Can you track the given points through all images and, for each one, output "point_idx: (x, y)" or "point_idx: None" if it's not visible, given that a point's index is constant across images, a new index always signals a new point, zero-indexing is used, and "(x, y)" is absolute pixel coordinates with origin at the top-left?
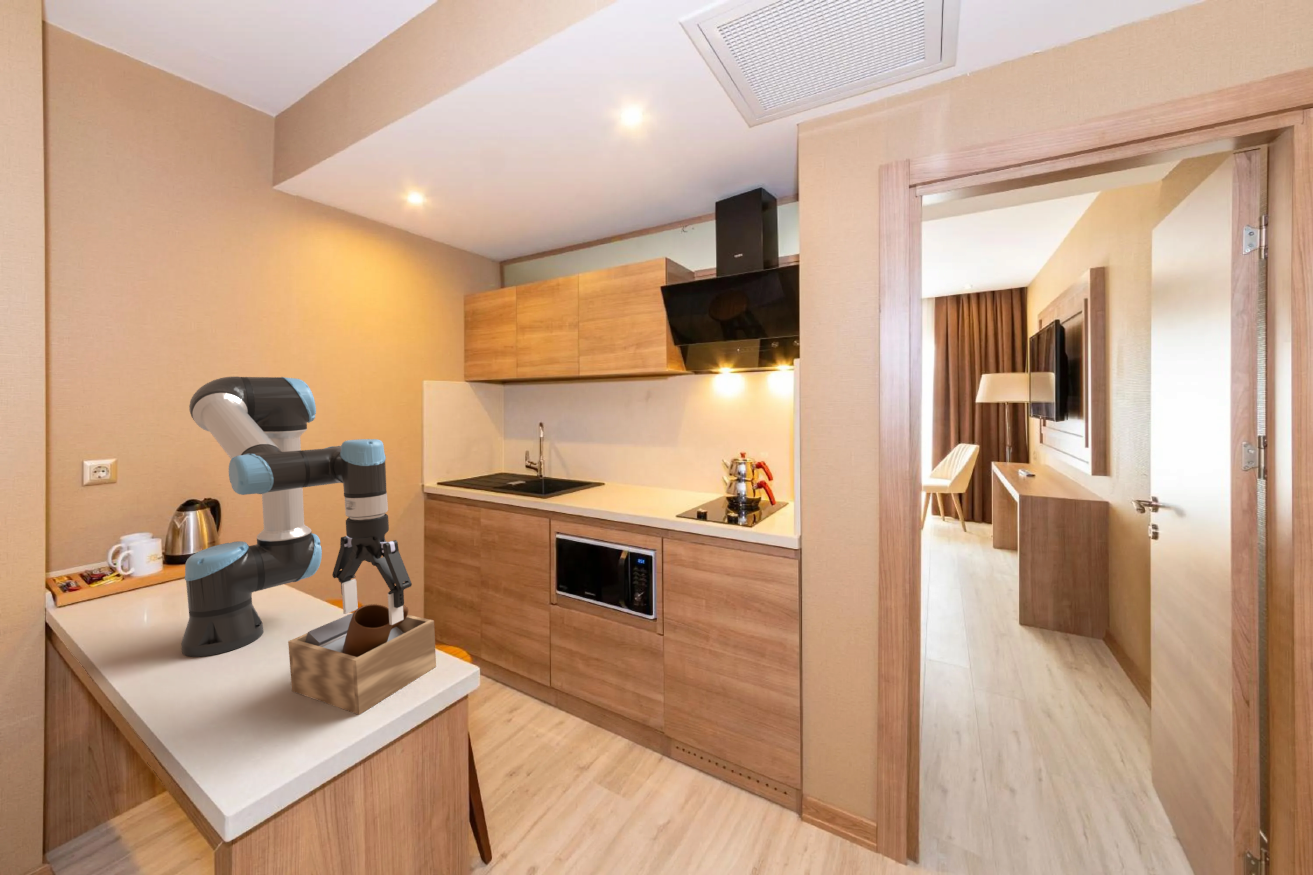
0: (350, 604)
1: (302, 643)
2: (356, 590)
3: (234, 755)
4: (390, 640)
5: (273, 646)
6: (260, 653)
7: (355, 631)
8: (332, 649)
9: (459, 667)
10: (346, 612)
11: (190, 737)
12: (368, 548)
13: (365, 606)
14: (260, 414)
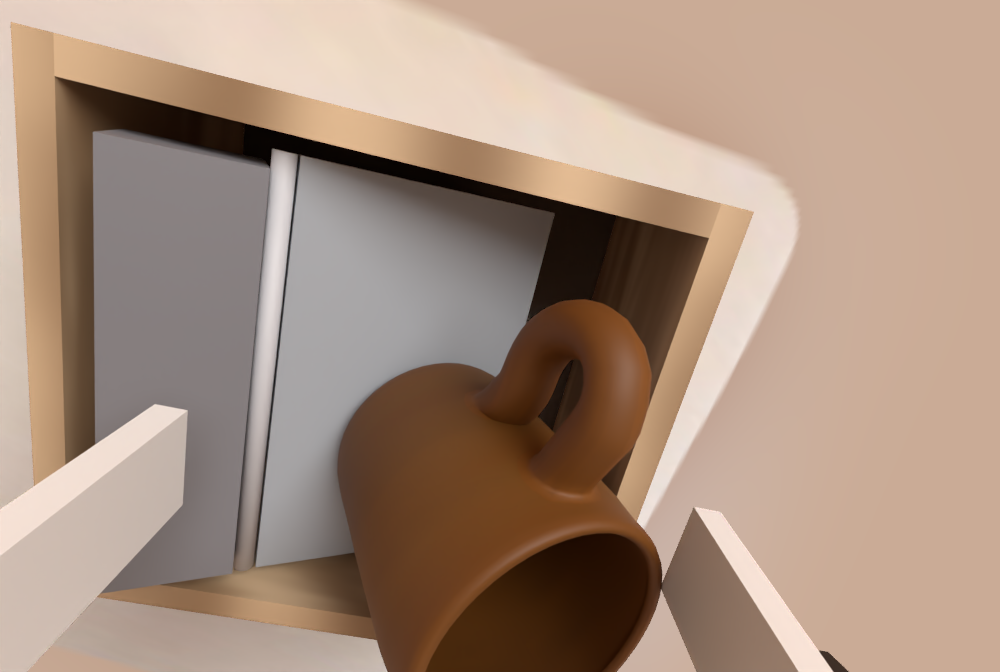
0: (142, 509)
1: (148, 593)
2: (38, 530)
3: (353, 668)
4: (618, 496)
5: None
6: None
7: None
8: (306, 522)
9: (749, 187)
10: (178, 508)
11: (159, 643)
12: None
13: (429, 659)
14: None
